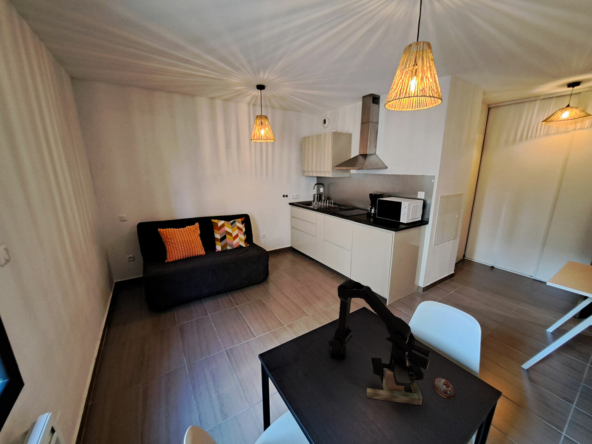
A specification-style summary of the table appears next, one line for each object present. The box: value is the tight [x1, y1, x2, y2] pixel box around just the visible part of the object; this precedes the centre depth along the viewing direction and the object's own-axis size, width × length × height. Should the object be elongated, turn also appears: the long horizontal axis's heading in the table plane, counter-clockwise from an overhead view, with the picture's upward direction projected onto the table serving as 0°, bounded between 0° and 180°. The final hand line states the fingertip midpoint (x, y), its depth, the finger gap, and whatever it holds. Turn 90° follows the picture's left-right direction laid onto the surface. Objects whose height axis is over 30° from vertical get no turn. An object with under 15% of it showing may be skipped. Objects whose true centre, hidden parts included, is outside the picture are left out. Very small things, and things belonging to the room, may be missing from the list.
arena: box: [366, 361, 423, 406], centre depth 94 cm, size 20×17×4 cm
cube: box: [384, 370, 405, 392], centre depth 90 cm, size 6×6×6 cm
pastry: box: [432, 377, 456, 400], centre depth 90 cm, size 8×8×5 cm
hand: (393, 384), depth 90 cm, fingers open, 9 cm apart
